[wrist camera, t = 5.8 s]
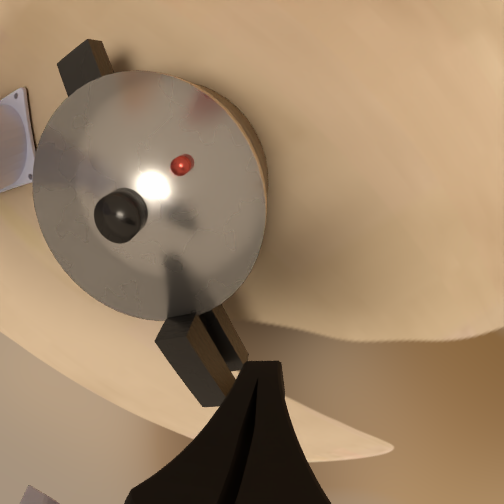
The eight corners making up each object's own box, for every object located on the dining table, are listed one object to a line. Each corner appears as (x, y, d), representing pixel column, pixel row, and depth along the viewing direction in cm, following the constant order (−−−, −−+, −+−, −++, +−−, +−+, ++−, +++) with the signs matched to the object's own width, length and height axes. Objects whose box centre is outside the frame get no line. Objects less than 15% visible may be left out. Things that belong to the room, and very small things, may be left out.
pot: (133, 327, 26) (112, 362, 22) (67, 70, 16) (24, 72, 12) (281, 331, 24) (278, 375, 20) (250, 18, 14) (236, -6, 10)
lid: (104, 361, 22) (89, 386, 19) (24, 110, 13) (-10, 118, 11) (277, 378, 20) (274, 412, 17) (254, 47, 11) (243, 34, 8)
